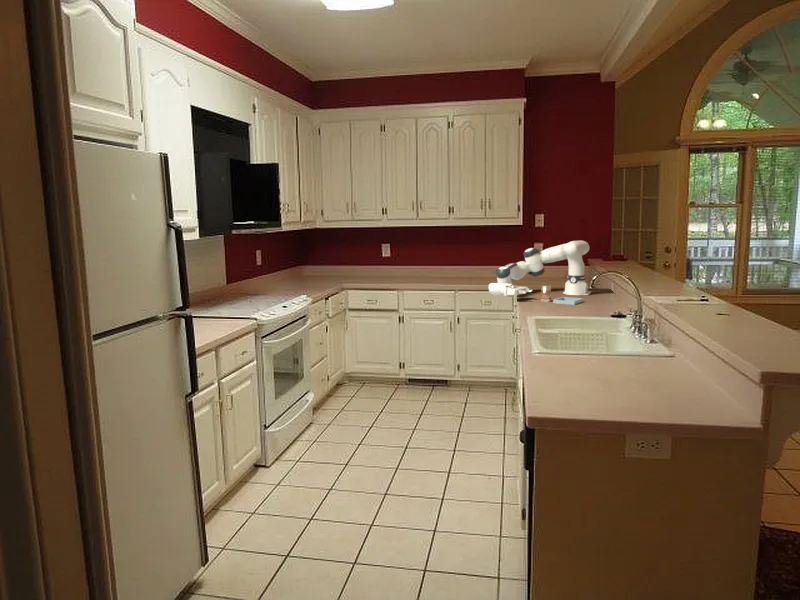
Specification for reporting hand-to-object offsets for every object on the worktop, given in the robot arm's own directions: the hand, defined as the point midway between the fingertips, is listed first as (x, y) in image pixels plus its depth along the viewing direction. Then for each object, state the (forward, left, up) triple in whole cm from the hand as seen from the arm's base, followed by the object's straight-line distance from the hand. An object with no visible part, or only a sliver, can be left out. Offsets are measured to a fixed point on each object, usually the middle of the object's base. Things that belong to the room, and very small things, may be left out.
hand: (528, 291), depth 388 cm
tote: (-3, +26, -7) cm, 27 cm away
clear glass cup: (0, +12, -7) cm, 14 cm away
